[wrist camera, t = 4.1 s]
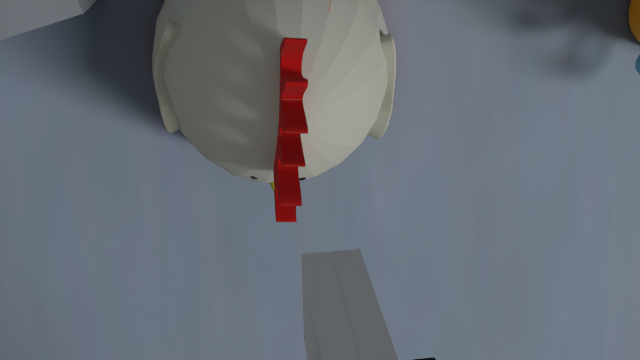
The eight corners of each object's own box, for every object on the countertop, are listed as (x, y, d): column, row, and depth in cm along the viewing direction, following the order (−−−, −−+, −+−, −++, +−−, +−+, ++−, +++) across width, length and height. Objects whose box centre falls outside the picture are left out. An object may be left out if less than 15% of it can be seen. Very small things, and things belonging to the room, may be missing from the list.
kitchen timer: (159, 151, 40) (124, 292, 26) (151, -78, 34) (101, -45, 20) (368, 156, 42) (433, 288, 29) (396, -59, 36) (495, -17, 23)
